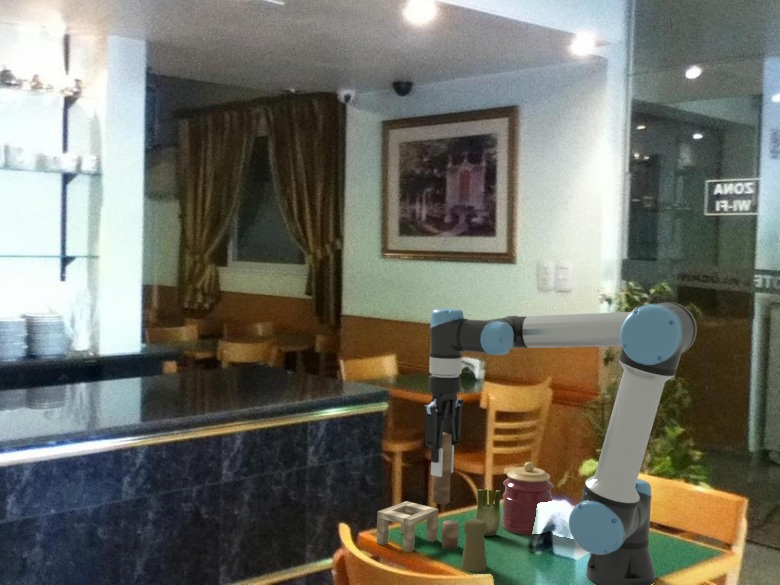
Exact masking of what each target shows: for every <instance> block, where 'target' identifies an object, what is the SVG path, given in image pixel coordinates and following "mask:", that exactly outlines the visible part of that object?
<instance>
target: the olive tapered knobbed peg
mask: <svg viewBox="0 0 780 585" xmlns="http://www.w3.org/2000/svg"><path fill="white" fill-rule="evenodd" d="M463 530H464V533H465V538H464V539H465V541H464V546H463V552H462V557H461V565H460V567H461V569H462V570H465V571H467V572H472V573H473V572H474V573H477V572H478V573H480V572H484V571H486V570H487V569H488V565H487V554H486V552H487V551H486V545H485V544H486V543H485V536H484V535H485V533H486V531H487V527H486V523H485V522H484V521H482V520H479V519H475V518H471V519H468V520H466V521H465V523H464V526H463Z"/></svg>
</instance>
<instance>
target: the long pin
mask: <svg viewBox="0 0 780 585" xmlns="http://www.w3.org/2000/svg"><path fill="white" fill-rule="evenodd" d="M451 443H452V434H450V433H444V432H443V435H442V442H441V448H442V449H443V466H442V477H438V476H434V475H432V476H433V477H432V478H433V480H432V481H433V482H432V502H433V503H434V504H438V505H439V504H440V505H446V504H449V503H450V501H451V500H450V499H451V475H452V473H451Z"/></svg>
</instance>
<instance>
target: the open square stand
mask: <svg viewBox="0 0 780 585" xmlns="http://www.w3.org/2000/svg"><path fill="white" fill-rule="evenodd" d="M376 515H377V517H376V520H377V521H376V544H378V545H382V546H384V545H387V544H389V522H393V523H396V524H400V534H401V535H402V551H403V552H406V553H411V551H412V552H414V551H415V545H416V544H415V543H416V542H415V540H416V525H417V524H419V523H421V522H424V521H426V537H425V538H426V539H425V540H427V542H430V541H431V542H430V543H434V541H435V542H437V541H438V536H439V534H438V533H439V508H436V507H432V506H427V505H423V504H419V503H415V502H413V501H412V502H411V501H408V500H407V501H406V500H405V501H403V502H400V503H398V504H394V505H393V506H390V507H386V508H383V509H381V510H378V511H377V514H376ZM436 540H437V541H436ZM386 543H387V544H386ZM413 550H414V551H413Z"/></svg>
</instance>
